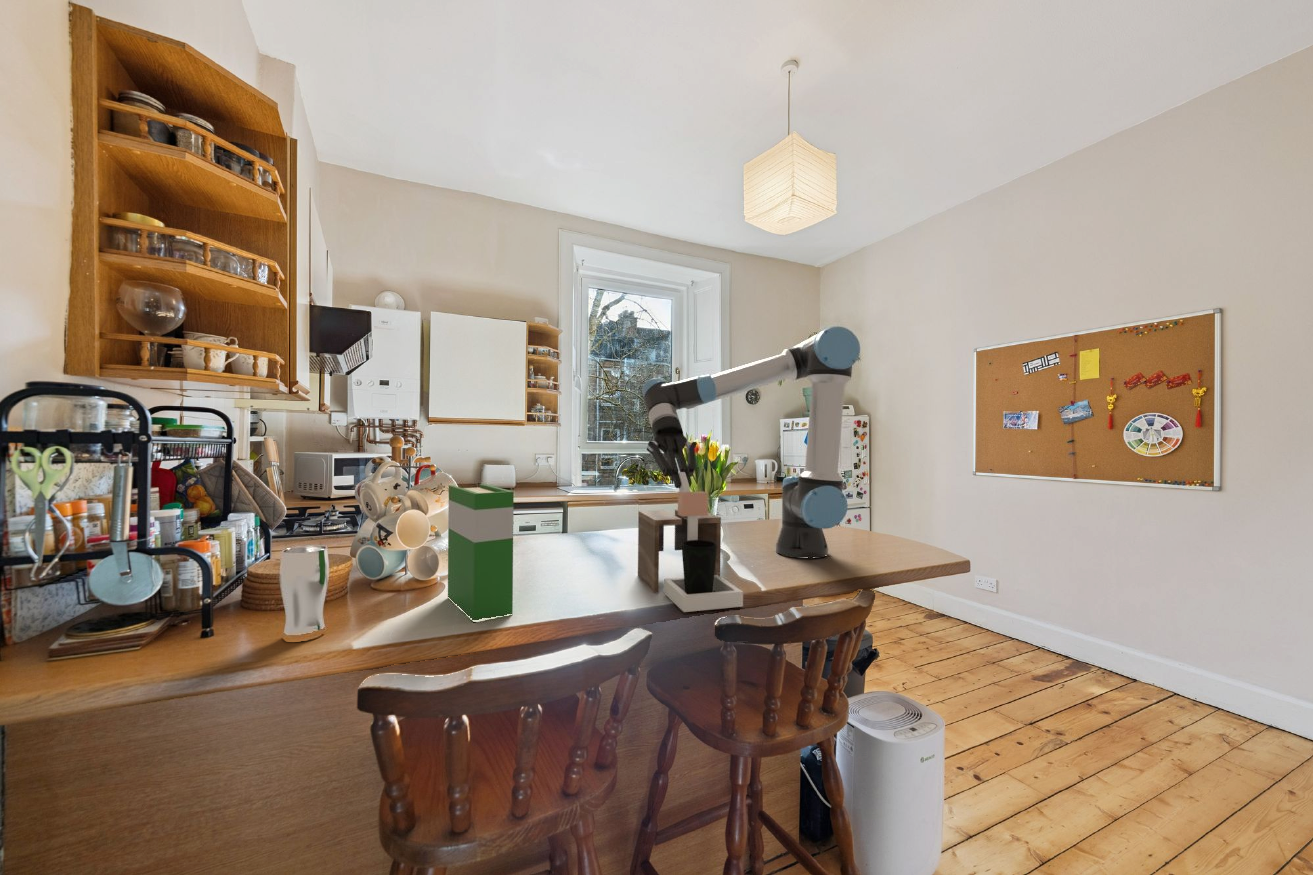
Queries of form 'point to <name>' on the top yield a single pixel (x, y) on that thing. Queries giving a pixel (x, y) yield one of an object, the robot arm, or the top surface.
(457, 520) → the hardback book
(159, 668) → the top surface
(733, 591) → the slider
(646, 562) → the tunnel
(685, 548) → the cup
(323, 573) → the beer glass
